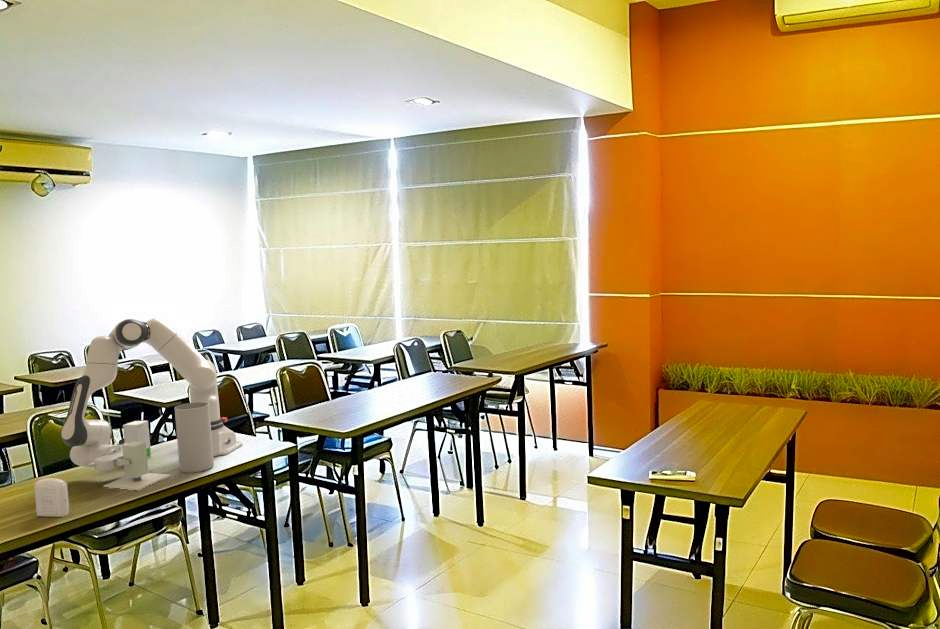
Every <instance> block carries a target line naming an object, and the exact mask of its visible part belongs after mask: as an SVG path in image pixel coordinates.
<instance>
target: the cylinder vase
mask: <svg viewBox="0 0 940 629" xmlns="http://www.w3.org/2000/svg"><path fill="white" fill-rule="evenodd" d="M174 417H175V419H174V420H175V429H176V439H177V440H176V441H177V452H178V453H177V454H178V465H179V471H180V472H182V473H185V474H186V473H187V474H194V473H195V474H196V473H202V472H205V471H208V470H210V469H211V468H213V467H214V465H215V463H214V456H213V448H212V436H211V423H210V411H209V403H207V402H193V403H191V402H186V403H182V404H178V405H176V406H174Z"/></svg>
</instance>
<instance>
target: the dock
mask: <svg viewBox="0 0 940 629" xmlns="http://www.w3.org/2000/svg"><path fill="white" fill-rule="evenodd" d="M168 477H169V478H171V474H167V473H166V474H165V473H164V474H163V473H154V472H153V473H152V472H148V474H145V475H143V476H140V477H138V478H132V477H125V476H124V477H121V478H119V479H115V480H114V481H112V482H108V483H107V484H103V488H104V487H109V488H108V489H113V488H120V489H119V490H123V489H128V490H127V491H134V490H137V491H136V492H138V490H139V491H142V490H143V488H144V489H146V488H148V487H150V486H149V485H151V486H153V485H155V484H157V483H159V482H158V481H160V482H161V480H162V481H164V480H166V478H167V479H169V478H168ZM163 479H164V480H163ZM156 482H157V483H156ZM154 483H155V484H154ZM152 484H153V485H152ZM147 486H148V487H147ZM145 487H146V488H145Z"/></svg>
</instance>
